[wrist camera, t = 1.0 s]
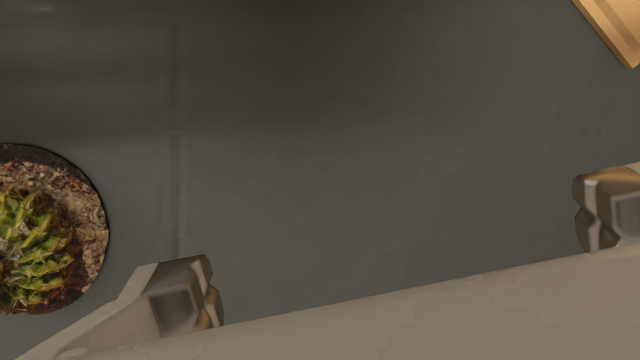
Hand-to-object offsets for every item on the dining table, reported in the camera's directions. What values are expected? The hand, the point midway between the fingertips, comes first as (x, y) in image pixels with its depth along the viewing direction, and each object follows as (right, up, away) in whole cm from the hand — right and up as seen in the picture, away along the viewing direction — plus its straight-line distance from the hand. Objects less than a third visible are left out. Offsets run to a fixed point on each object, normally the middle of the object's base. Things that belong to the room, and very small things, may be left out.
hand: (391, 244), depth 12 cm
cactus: (-29, -3, +40) cm, 50 cm away
